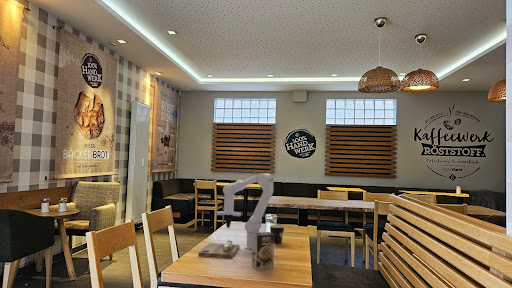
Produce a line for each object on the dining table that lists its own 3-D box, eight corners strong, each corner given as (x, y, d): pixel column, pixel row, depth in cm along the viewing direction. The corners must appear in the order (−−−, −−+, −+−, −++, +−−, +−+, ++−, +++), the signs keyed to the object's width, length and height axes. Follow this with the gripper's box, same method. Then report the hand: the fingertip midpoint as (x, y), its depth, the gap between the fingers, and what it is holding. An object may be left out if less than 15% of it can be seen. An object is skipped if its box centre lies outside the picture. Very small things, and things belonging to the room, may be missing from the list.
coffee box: (256, 270, 162) (257, 235, 163) (251, 266, 168) (252, 232, 169) (274, 268, 166) (275, 234, 166) (268, 264, 172) (269, 231, 172)
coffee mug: (274, 244, 210) (274, 228, 210) (267, 241, 217) (267, 225, 217) (290, 243, 215) (290, 226, 215) (282, 239, 223) (283, 224, 223)
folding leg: (227, 245, 197) (227, 240, 197) (232, 245, 197) (232, 240, 197) (222, 250, 185) (222, 246, 185) (227, 251, 185) (227, 246, 185)
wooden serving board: (239, 248, 199) (239, 240, 199) (232, 258, 179) (232, 249, 179) (208, 246, 202) (209, 238, 202) (198, 256, 182) (198, 247, 182)
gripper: (215, 205, 208) (214, 228, 208) (239, 206, 206) (238, 229, 206) (218, 203, 215) (217, 225, 215) (241, 204, 213) (241, 227, 213)
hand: (228, 227), depth 211 cm, fingers closed
